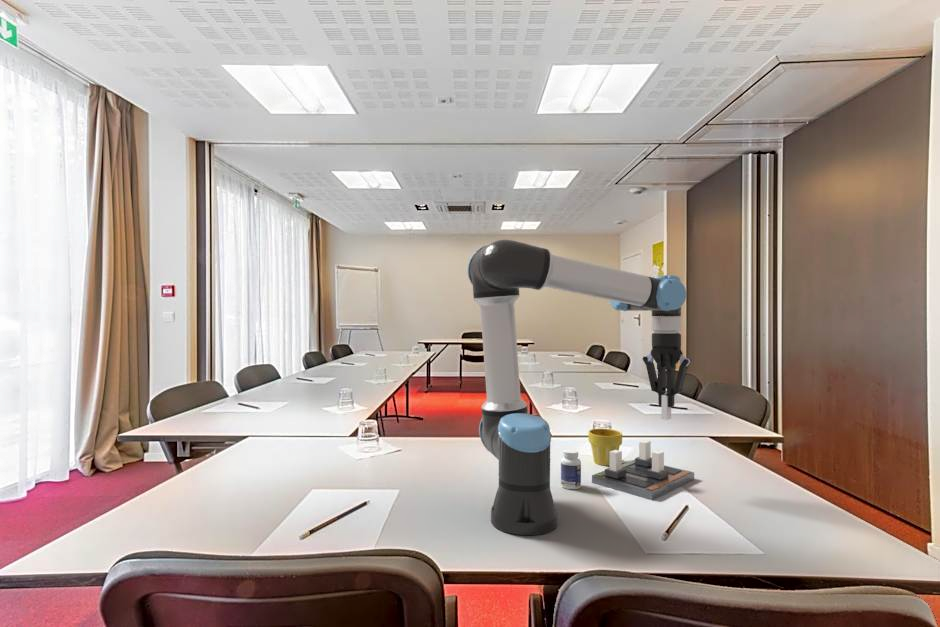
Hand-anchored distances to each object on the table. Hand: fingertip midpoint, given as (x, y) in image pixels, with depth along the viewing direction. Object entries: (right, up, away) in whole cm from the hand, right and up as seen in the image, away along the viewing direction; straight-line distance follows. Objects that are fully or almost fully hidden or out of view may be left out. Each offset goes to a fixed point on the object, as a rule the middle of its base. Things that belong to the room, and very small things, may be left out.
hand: (666, 418), depth 139 cm
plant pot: (-11, -19, +22) cm, 31 cm away
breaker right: (-1, -16, +13) cm, 21 cm away
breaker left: (-13, -16, +2) cm, 21 cm away
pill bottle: (-26, -19, 0) cm, 32 cm away
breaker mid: (-2, -16, +2) cm, 16 cm away
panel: (-5, -19, +5) cm, 20 cm away
